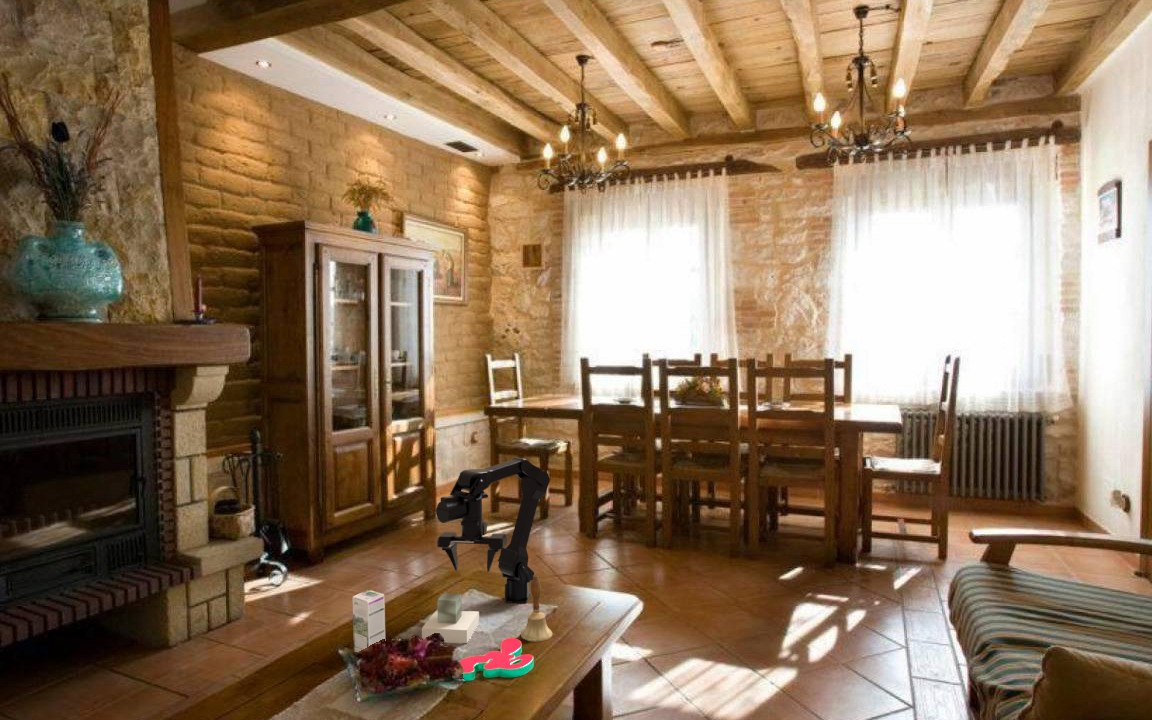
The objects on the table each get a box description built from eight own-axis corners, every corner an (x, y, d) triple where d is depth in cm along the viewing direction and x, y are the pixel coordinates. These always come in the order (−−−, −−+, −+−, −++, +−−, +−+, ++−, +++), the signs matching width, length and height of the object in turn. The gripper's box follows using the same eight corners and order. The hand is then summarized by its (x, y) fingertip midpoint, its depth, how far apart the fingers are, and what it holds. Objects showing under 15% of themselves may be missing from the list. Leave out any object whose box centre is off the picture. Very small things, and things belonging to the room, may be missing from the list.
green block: (461, 616, 187) (461, 593, 186) (456, 623, 182) (455, 600, 182) (443, 615, 187) (443, 593, 187) (437, 622, 182) (437, 599, 182)
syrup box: (386, 649, 175) (385, 592, 174) (368, 658, 170) (367, 600, 169) (371, 644, 178) (370, 588, 177) (352, 653, 173) (351, 595, 172)
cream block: (479, 626, 190) (479, 611, 190) (467, 645, 178) (466, 630, 178) (436, 624, 191) (436, 609, 191) (422, 643, 179) (421, 628, 179)
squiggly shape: (516, 645, 178) (516, 636, 178) (541, 672, 163) (541, 662, 163) (439, 662, 169) (439, 652, 169) (459, 692, 154) (459, 682, 154)
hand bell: (548, 643, 178) (547, 581, 177) (517, 640, 179) (516, 579, 179) (555, 629, 186) (555, 571, 185) (525, 627, 188) (525, 569, 187)
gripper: (510, 509, 201) (511, 562, 201) (448, 507, 203) (449, 560, 204) (502, 519, 190) (502, 575, 190) (436, 517, 192) (436, 573, 193)
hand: (472, 570), depth 195 cm, fingers open, 9 cm apart
